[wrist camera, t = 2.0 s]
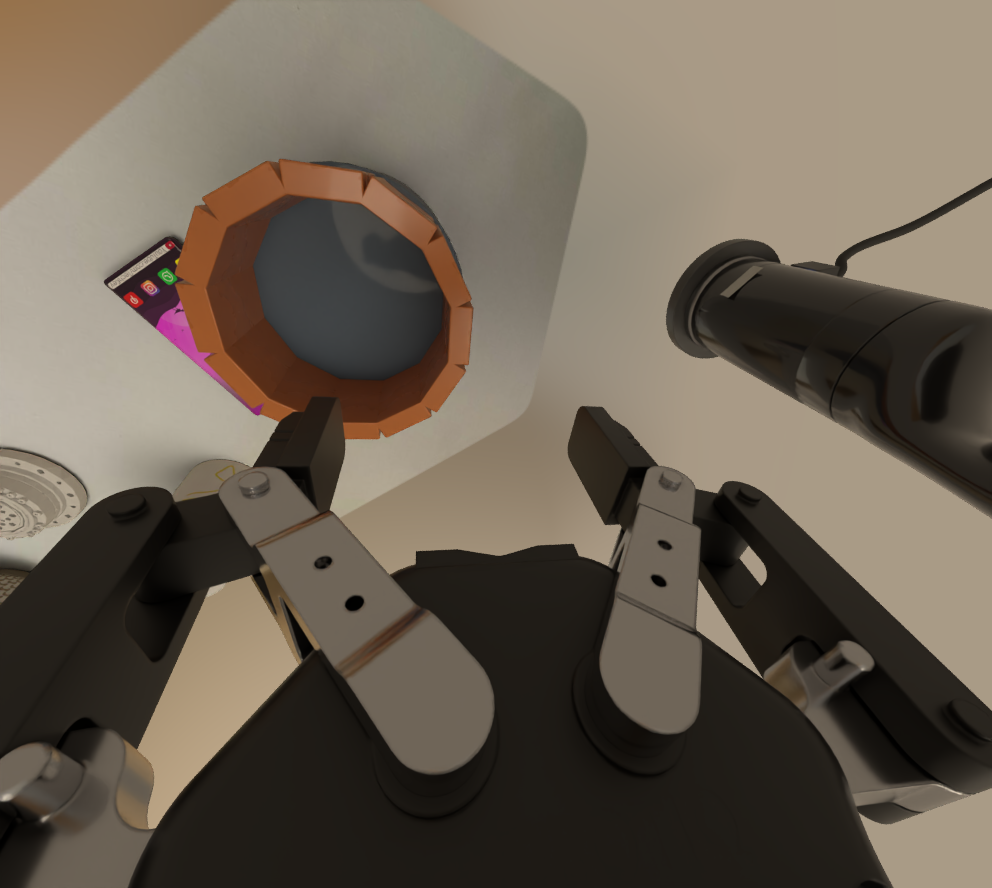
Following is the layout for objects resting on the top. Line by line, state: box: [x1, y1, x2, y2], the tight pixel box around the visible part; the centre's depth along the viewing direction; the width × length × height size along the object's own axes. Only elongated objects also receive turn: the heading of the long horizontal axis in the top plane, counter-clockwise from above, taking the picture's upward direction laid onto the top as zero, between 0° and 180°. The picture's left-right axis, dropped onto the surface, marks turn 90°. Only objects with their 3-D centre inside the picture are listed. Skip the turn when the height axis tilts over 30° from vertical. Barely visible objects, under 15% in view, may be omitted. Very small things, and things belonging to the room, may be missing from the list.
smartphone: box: [104, 237, 264, 415], centre depth 34 cm, size 7×15×1 cm, turn 27°
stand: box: [253, 161, 463, 381], centre depth 28 cm, size 14×14×12 cm
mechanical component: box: [0, 449, 87, 540], centre depth 37 cm, size 10×4×10 cm
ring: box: [175, 159, 473, 439], centre depth 21 cm, size 13×13×6 cm
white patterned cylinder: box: [172, 460, 250, 597], centre depth 39 cm, size 8×8×12 cm
